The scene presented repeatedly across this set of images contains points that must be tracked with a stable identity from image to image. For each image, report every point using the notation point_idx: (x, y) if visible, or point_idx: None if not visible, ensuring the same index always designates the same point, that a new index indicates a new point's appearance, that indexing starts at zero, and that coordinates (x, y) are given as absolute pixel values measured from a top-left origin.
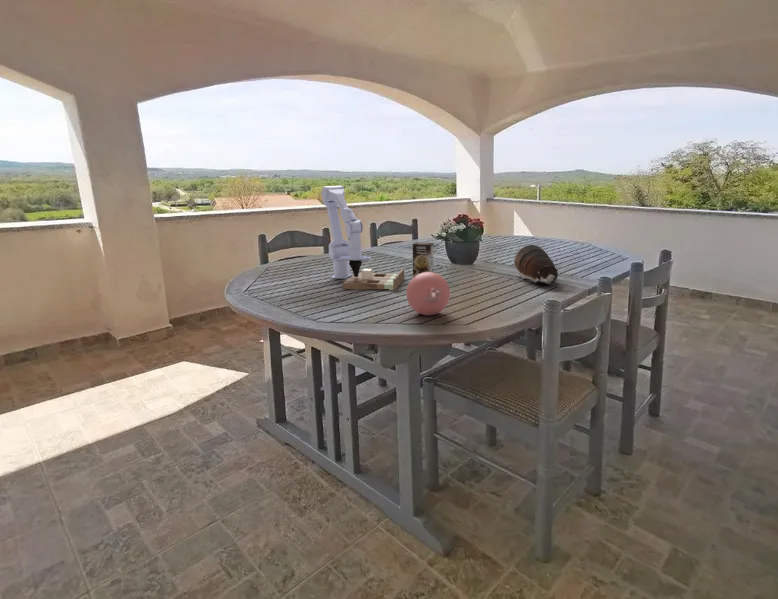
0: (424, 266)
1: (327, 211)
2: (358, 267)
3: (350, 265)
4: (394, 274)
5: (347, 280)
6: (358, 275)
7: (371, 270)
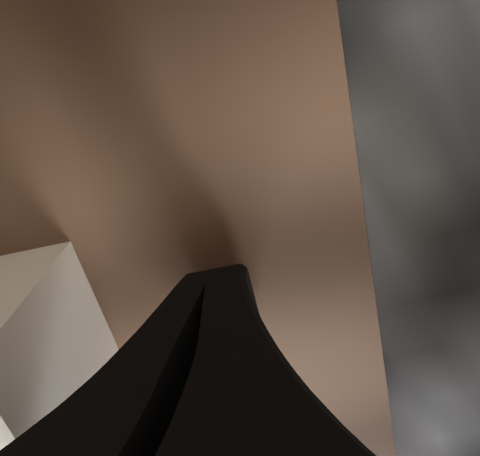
0: None
1: None
2: (11, 446)
3: (334, 453)
4: None
5: (307, 29)
6: None
7: None
